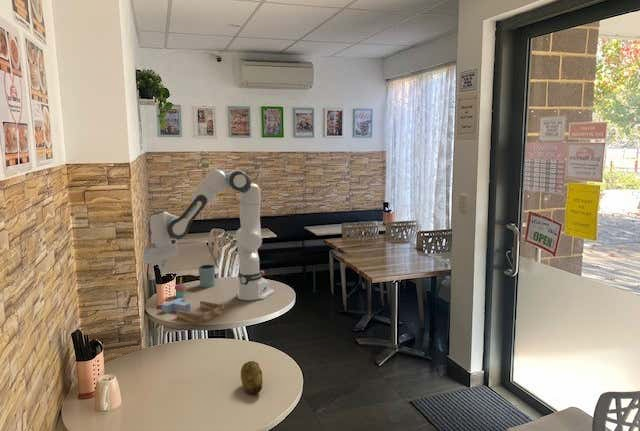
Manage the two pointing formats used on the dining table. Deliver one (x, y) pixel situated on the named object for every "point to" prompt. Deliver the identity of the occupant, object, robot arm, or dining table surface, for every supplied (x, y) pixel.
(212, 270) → the grey-blue cup
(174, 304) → the t block
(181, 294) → the cupcake
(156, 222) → the robot arm
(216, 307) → the corral
